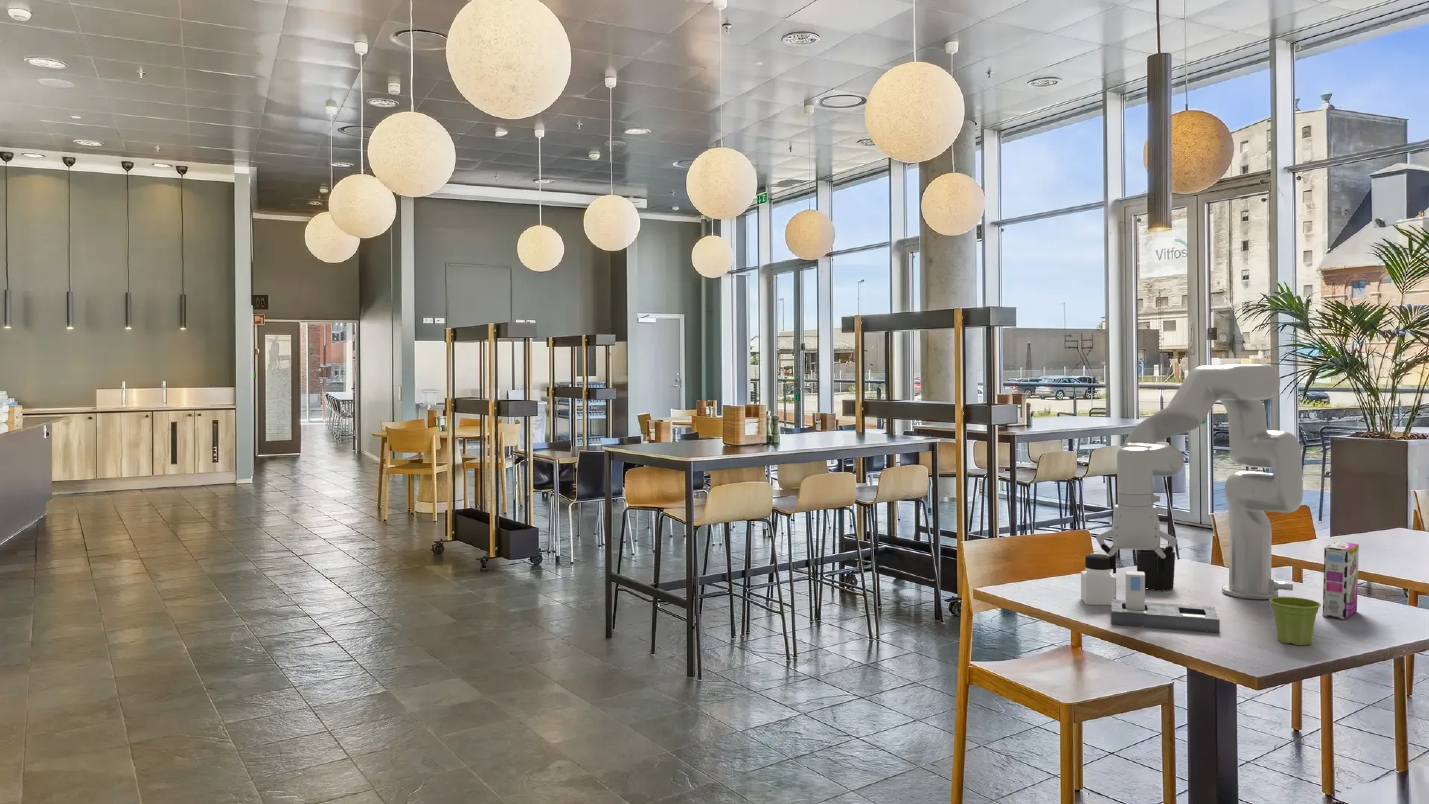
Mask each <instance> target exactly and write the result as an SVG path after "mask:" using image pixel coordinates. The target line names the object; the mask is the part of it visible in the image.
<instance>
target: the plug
mask: <svg viewBox="0 0 1429 804" xmlns="http://www.w3.org/2000/svg"><path fill="white" fill-rule="evenodd" d="M1125 600H1126V609H1132V610H1145V602H1146V589H1145V573H1144V572H1138V571H1137V570H1136V571H1135V570H1125Z"/></svg>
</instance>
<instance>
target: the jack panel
mask: <svg viewBox="0 0 1429 804" xmlns="http://www.w3.org/2000/svg"><path fill="white" fill-rule="evenodd" d="M1110 607H1111V610H1110V611H1111V613H1110V615H1111V625H1114V624H1117V626H1126V625H1127V626H1128V627H1138V626H1144V627H1143V628H1150V627H1152V628H1153V629H1164V630H1175V629H1176V630H1175V631H1187V630H1188V632H1198V633H1199V632H1203V633H1211V632H1216V633H1215V634H1220V624H1221V623H1220V621H1221V620H1220V618H1219V615H1218V613H1217V610H1216V608H1215V606H1209V605H1208V606H1205V605H1196V604H1195V605H1193V604H1181V603H1167V602H1166V603H1165V602H1152V601H1145V610H1132V609H1126V599H1116V600H1113V599H1111V606H1110ZM1118 624H1120V625H1118ZM1152 628H1151V629H1152ZM1177 629H1178V630H1177ZM1179 629H1180V630H1179Z"/></svg>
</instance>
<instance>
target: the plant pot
mask: <svg viewBox="0 0 1429 804" xmlns="http://www.w3.org/2000/svg"><path fill="white" fill-rule="evenodd" d="M1268 601H1269V603H1270V604H1271V607H1272V610H1273V612H1274V613H1273V614H1274V621H1275V626H1276V634H1277V639H1278V641H1279V642H1281V643H1283V644H1293V645H1296V646H1309V645H1311V644H1312V642H1313V637H1314V630H1315V623H1316V618H1317V614H1318V613H1319V609H1320V608H1321V606H1322V604H1321V603H1320V602H1319V601H1316V600H1313V599H1307V598H1302V597H1295V596H1278V597H1274V598H1270V599H1268Z"/></svg>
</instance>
